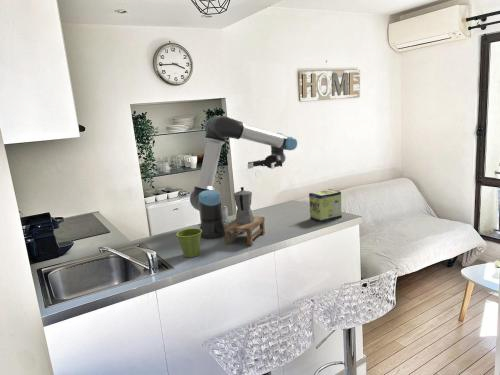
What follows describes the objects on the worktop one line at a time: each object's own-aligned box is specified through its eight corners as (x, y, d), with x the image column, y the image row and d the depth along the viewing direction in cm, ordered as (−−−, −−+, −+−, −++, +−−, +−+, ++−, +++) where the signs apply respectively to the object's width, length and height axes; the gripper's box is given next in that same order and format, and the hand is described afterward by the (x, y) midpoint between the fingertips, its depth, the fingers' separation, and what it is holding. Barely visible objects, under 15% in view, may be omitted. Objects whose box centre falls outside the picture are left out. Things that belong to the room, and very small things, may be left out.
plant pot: (180, 251, 184) (177, 229, 182) (204, 249, 184) (202, 227, 182) (177, 261, 172) (174, 237, 170) (203, 258, 173) (201, 234, 171)
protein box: (309, 219, 222) (308, 193, 219) (330, 214, 229) (329, 188, 226) (321, 222, 213) (319, 195, 210) (342, 217, 220) (341, 191, 217)
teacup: (220, 224, 225) (219, 211, 223) (207, 222, 232) (205, 209, 230) (235, 218, 236) (234, 205, 234) (222, 216, 242) (221, 204, 241)
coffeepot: (237, 218, 201) (234, 185, 198) (254, 217, 200) (252, 184, 197) (233, 227, 186) (230, 191, 183) (252, 226, 185) (250, 190, 182)
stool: (225, 244, 189) (223, 227, 187) (241, 232, 207) (239, 216, 205) (251, 246, 184) (250, 228, 182) (265, 233, 202) (264, 216, 200)
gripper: (293, 167, 221) (282, 173, 201) (253, 167, 230) (239, 173, 211) (292, 154, 219) (281, 159, 200) (252, 155, 229) (238, 159, 209)
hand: (259, 166), depth 205 cm, fingers open, 13 cm apart
